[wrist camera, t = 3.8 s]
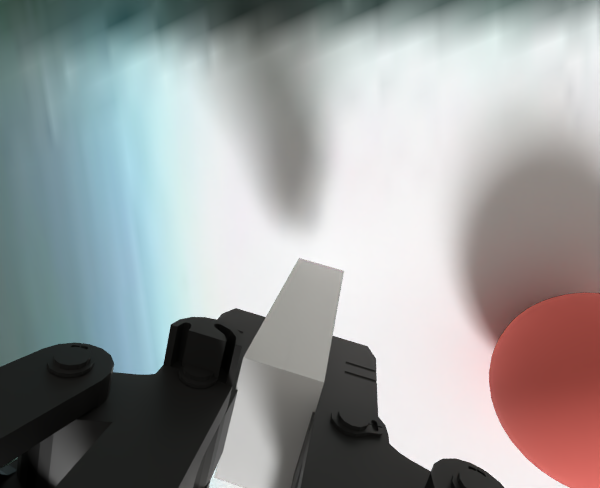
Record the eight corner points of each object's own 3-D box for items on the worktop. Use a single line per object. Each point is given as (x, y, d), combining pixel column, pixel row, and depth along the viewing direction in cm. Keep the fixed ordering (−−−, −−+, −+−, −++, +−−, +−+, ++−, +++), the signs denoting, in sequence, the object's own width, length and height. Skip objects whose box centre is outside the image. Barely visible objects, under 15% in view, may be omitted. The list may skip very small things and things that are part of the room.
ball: (448, 388, 17) (491, 514, 12) (503, 249, 16) (584, 314, 10) (599, 433, 17) (721, 586, 11) (671, 295, 15) (857, 390, 10)
